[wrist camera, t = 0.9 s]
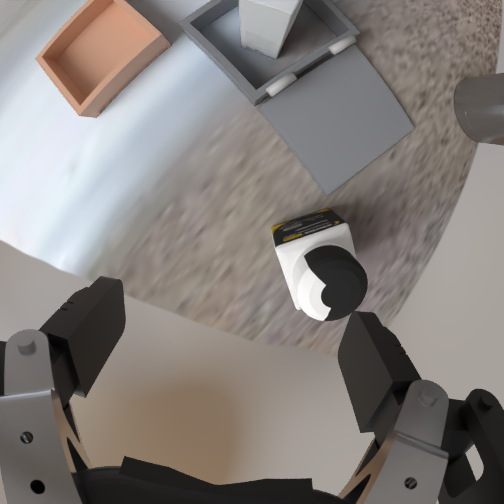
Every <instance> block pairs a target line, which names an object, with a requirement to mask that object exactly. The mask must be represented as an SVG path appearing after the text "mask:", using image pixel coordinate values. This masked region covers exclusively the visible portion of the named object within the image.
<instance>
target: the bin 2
mask: <svg viewBox="0 0 504 504" xmlns="http://www.w3.org/2000/svg"><path fill="white" fill-rule="evenodd" d="M303 2H304V3H306V4H307V5H308V6H309V7H310V8H311V9H312V10H313V11H314V12H315V13H316V14H317V15H318V16H319V17H320V18H321V19H322V20H323V21H324V22H325V23H326V24H327V25H328V27H329V28H330V29H331V30H332V31H333V32H334V33H335V34H336V35H337V36H338V37H337V38H335V39H333V40H331V41H330V42H328V43H326V44H325V45H323V46H321V47H320V48H318V49H316V50H315V51H313V52H312V53H310V54H308V55H307V56H305V57H304V58H302V59H301V60H299V61H297V62H296V63H294V64H293V65H291V66H290V67H288V68H287V69H285V70H284V71H283V72H281V73H280V74H278V75H277V76H275V77H274V78H272V79H271V80H270V81H268V82H267V83H265V84H264V85H263V86H261V87H260V88H259V89H257V90H256V89H255V88H254V87H253V86H252V85H251V84H250V83H249V82H248V81H247V80H246V78H245V77H244V76H243V75H242V74H241V73H240V72H239V71H238V70H237V69H236V68H235V67H234V66H233V65H232V64H231V63H230V62H229V61H228V60H227V59H226V58H225V57H224V56H223V54H222V53H221V52H220V51H219V50H217V49H216V48H215V47H214V46H213V45H212V44H211V43H210V42H209V41H208V40H207V39H206V38H205V37H204V36H203V35H202V34H201V33H200V32H199V31H200V30H202V29H203V28H205V27H206V26H207V25H209V24H210V23H212V22H213V21H215V20H216V19H218V18H219V17H221V16H222V15H224V14H225V13H227V12H228V11H230V10H231V9H233V8H235V7H236V6H238V5H239V0H211V1H210V2H208V3H207V4H205V5H204V6H202V7H201V8H199V9H198V10H196V11H195V12H194V13H192V14H191V15H189V16H188V17H187V18H185V19H184V20H182V21H181V22H180V23H179V25H180V26H181V28H182V30H183V31H184V33H185V35H187V36H188V37H189V38H190V39H191V40H192V41H193V42H194V43H195V44H196V45H197V46H198V47H199V48H200V49H201V50H202V51H203V52H204V53H205V54H206V55H207V56H208V57H209V58H210V59H211V60H212V61H213V62H214V63H215V64H216V65H217V66H218V67H219V68H220V69H221V70H222V71H223V72H224V73H225V74H226V75H227V77H228V78H229V79H230V80H231V81H232V82H233V83H234V84H235V85H236V86H237V87H238V88H239V89H240V91H241V92H242V93H243V94H244V95H245V96H246V97H247V98H248V99H249V101H250V102H251V103H252V104H253V105H254V106H255V105H257V104H258V103H259V102H261V101H262V100H263V99H265V98H266V97H267V96H269V95H270V96H271V97H273V96H274V95H276V94H277V93H278V92H280V91H281V90H283V89H284V88H285V87H287V86H288V85H290V84H291V83H293V82H294V81H295V82H294V83H293V84H291V85H290V86H288V87H287V88H285V89H284V90H283V91H281V92H280V93H278V94H277V95H276V96H274V97H273V98H272V99H270V100H269V101H267V102H266V103H265V104H263V105H262V106H261V107H259V108H258V111H259V112H260V113H261V114H262V115H263V117H264V118H265V119H266V120H267V121H268V122H269V124H270V125H271V126H272V127H273V128H274V129H275V131H276V132H277V133H278V134H279V136H280V137H281V138H282V139H283V140H284V142H285V143H286V144H287V145H288V147H289V148H290V149H291V150H292V152H293V153H294V154H295V155H296V157H297V158H298V159H299V160H300V162H301V163H302V164H303V166H304V167H305V168H306V169H307V171H308V172H309V173H310V175H311V176H312V177H313V179H314V180H315V181H316V183H317V184H318V185H319V187H320V188H321V189H322V191H323V192H324V194H325V195H326V196H328V195H329V194H330V193H332V192H333V191H334V190H336V189H337V188H338V187H339V186H341V185H342V184H343V183H345V182H346V181H347V180H348V179H350V178H351V177H352V176H354V175H355V174H356V173H358V172H359V171H360V170H361V169H363V168H364V167H365V166H367V165H368V164H369V163H370V162H372V161H373V160H374V159H376V158H377V157H378V156H380V155H381V154H382V153H383V152H385V151H386V150H387V149H389V148H390V147H391V146H392V145H394V144H395V143H396V142H398V141H399V140H400V139H401V138H403V137H404V136H405V135H407V134H408V133H409V132H411V131H412V130H413V129H414V126H413V125H412V123H411V121H410V120H409V118H408V116H407V115H406V113H405V112H404V110H403V109H402V107H401V106H400V104H399V102H398V101H397V99H396V98H395V96H394V95H393V94H392V92H391V91H390V89H389V88H388V86H387V85H386V84H385V82H384V81H383V79H382V78H381V77H380V75H379V74H378V73H377V71H376V70H375V69H374V67H373V66H372V65H371V64H370V62H369V61H368V60H367V58H366V57H365V56H364V55H363V54H362V52H361V51H360V50H359V49H358V47H357V46H356V45H355V44H354V43H356V39H355V37H356V36H357V35H358V34H359V33H360V32H359V31H358V29H357V28H356V27H355V26H354V25H353V24H352V23H351V22H350V21H349V19H348V18H347V17H346V16H345V15H344V14H343V13H342V12H341V11H340V10H339V9H338V8H337V7H336V6H335V5H334V4H333V3H332V2H331V1H330V0H303ZM352 44H354V45H352ZM350 45H352V46H350ZM349 46H350V47H349ZM347 47H349V48H347ZM345 48H347V49H345ZM344 49H345V50H344ZM342 50H343V51H342ZM340 51H342V52H340ZM339 52H340V53H339ZM331 53H332V54H333V55H335V54H337V53H339V54H337V55H335V56H334V57H332V58H330V59H329V60H327V61H326V62H324V63H323V64H321V65H319V66H318V67H316V68H315V69H313V70H312V71H310V72H309V73H307V74H306V75H304V76H303V77H301V78H300V79H298V80H297V78H296V76H297V75H299V74H300V73H302V72H303V71H305V70H306V69H308V68H309V67H311V66H312V65H314V64H315V63H317V62H318V61H320V60H322V59H323V58H325V57H326V56H328V55H330V54H331ZM296 80H297V81H296Z"/></svg>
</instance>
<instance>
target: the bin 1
mask: <svg viewBox="0 0 504 504" xmlns="http://www.w3.org/2000/svg"><path fill="white" fill-rule="evenodd" d="M170 46H171V44H170V43H169V42H168V41H167V39H166V38H165V37H164V36H163V35H162V34H161V33H160V32H159V31H158V30H157V29H156V28H155V27H154V26H153V25H152V24H151V23H150V22H148V21H147V20H146V19H145V18H144V17H143V16H142V15H141V14H140V13H138V12H137V11H136V10H135V9H134V8H133V7H132V6H130V5H129V4H128V3H127V2H126V1H125V0H88V1H87V2H86V3H85V4H84V5H83V6H82V7H81V8H80V9H79V10H78V11H77V12H76V13H75V14H74V15H73V16H72V17H71V18H70V19H69V20H68V21H67V22H66V23H65V24H64V25H63V26H62V28H61V29H60V30H59V31H58V32H57V33H56V34H55V35H54V37H53V38H52V39H51V40H50V41H49V42H48V44H47V45H46V46H45V47H44V48H43V50H42V51H41V52H40V53H39V55H38V56H37V57H36V58H35V59H36V60H37V62H38V63H39V65H40V66H41V67H42V69H43V70H44V71H45V73H46V74H47V75H48V77H49V78H50V79H51V80H52V82H53V83H54V84H55V86H56V87H57V88H58V90H59V91H60V92H61V94H62V95H63V96H64V97H65V99H66V100H67V101H68V102H69V104H70V105H71V106H72V108H73V109H74V110H75V111H76V113H77V114H78V115H79V116H85V117H94V118H97V116H98V115H99V114H100V113H101V112H102V111H103V110H104V109H105V108H106V106H107V105H108V104H109V103H110V102H111V101H112V100H113V99H114V98H115V97H116V96H117V95H118V94H119V93H120V92H121V91H122V90H123V89H124V88H125V87H126V86H127V85H128V84H129V83H130V82H131V81H132V80H133V79H134V78H135V77H136V76H137V75H138V74H139V73H140V72H141V71H142V70H144V69H145V68H146V67H147V66H148V65H149V64H150V63H151V62H152V61H154V60H155V59H156V58H157V57H158V56H159V55H161V54H162V53H163V52H164V51H165V50H167V49H168V48H169V47H170Z"/></svg>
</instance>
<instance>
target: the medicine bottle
mask: <svg viewBox="0 0 504 504" xmlns="http://www.w3.org/2000/svg"><path fill="white" fill-rule="evenodd" d="M271 233H272V237H273V241H274V245H275V249H276V253H277V255H278V258H279V261H280V264H281V267H282V270H283V273H284V275H285V278H286V281H287V284H288V287H289V290H290V293H291V296H292V299H293V301H294V304H295V307H296V309H298V310H300V309H303V311H304V312H305V313H306V314H308V315H309V316H310V317H312V318H314V319H317V320H321V321H333V320H338V319H341V318H343V317H346V316H347V315H349V314H351V313H352V312H353V311H354V310H355V309H357V307H358V306H359V305H360V304H361V302H362V301H363V299H364V297H365V295H366V292H367V285H368V281H367V275H366V273H365V270H364V269H363V267H362V266H361V265H360V264H359V262H358V261H357V258H356V254H355V249H354V245H353V241H352V237H351V233H350V229H349V225H348V224H347V223H346V222H345V221H344V220H343V219H341V218H340V217H339V216H338V215H337V214H335V213H334V212H333V211H332V210H331V209H329V208H326V209H323V210H320V211H317V212H314V213H311V214H309V215H306V216H303V217H300V218H297V219H294V220H291V221H288V222H285V223H282V224H279V225H276V226H273V227H272V228H271Z"/></svg>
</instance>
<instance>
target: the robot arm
mask: <svg viewBox="0 0 504 504" xmlns="http://www.w3.org/2000/svg"><path fill="white" fill-rule="evenodd" d="M454 106H455V112H456V116H457V119H458V121H459V124H460V126H461V127H462V129H463V131H464V132H465V133H466V134H467V136H468V137H470V138H471V139H472V140H474V141H476V142H480V143H489V144H497V145H504V73H500V74H492V75H486V76H479V77H473V78H468V79H464V80H462V81H461V82H460V83H459V84H458V85H457V87H456V90H455V95H454ZM125 321H126V317H125V306H124V293H123V284H122V281H121V280H120V279H114V278H109V277H104V276H100V277H99V278H98V279H97V280H96V281H95V282H94V283H93V284H92V285H91V286H90V287H89V288H88V287H86V288H84V289H81V290H79V291H77V292H75V293H74V294H73V295H72V296H71V297H70V298H69V299H68V300H67V302H65V303H64V304H63V305H62V306H61V307H60V309H58V310H57V311H56V312H55V313H54V314H53V315H52V316H51V318H50V319H48V321H47V322H46V323H45V324H44V325H43V326H42V327H41V328H40V329H39V330H33V329H28V330H23V331H20V332H17V333H16V334H14V335H13V336H11V338H9V340H8V341H7V342H4V341H0V468H1V474H2V480H3V485H4V490H5V494H6V498H7V503H8V504H436V501H437V498H438V501H439V504H504V410H503V409H502V407H501V405H500V403H499V401H498V400H497V399H496V397H495V396H494V395H493V394H491V393H490V392H488V391H486V390H483V389H474V390H473V391H471V392H470V394H469V395H468V397H467V398H466V400H465V401H463V400H455V399H449V398H448V395H447V394H446V392H445V391H444V389H442V387H440V386H439V385H437V384H436V383H434V382H432V381H429V380H422V379H421V377H420V375H419V374H418V372H417V370H416V369H415V367H414V365H413V363H412V362H411V360H410V358H409V357H408V355H406V352H405V350H404V349H403V347H401V344H400V342H399V340H398V339H397V337H396V336H395V335H394V334H393V333H392V332H391V331H390V330H388V329H387V328H386V327H383V325H382V324H381V322H380V321H379V319H378V317H377V316H376V314H375V313H373V312H360V311H354V312H353V313H352V314H351V316H350V318H349V321H348V324H347V327H346V329H345V332H344V335H343V338H342V340H341V343H340V346H339V350H338V362H339V366H340V369H341V372H342V375H343V378H344V381H345V384H346V387H347V390H348V393H349V397H350V400H351V403H352V406H353V410H354V413H355V416H356V420H357V423H358V426H359V430H360V433H365V432H374V434H375V437H374V439H373V440H372V442H371V443H370V445H369V447H368V449H367V451H366V453H365V455H364V456H363V458H362V460H361V462H360V463H359V465H358V467H357V469H356V470H355V472H354V474H353V475H352V477H351V479H350V480H349V482H348V483H347V485H346V486H345V487H344V489H343V490H342V491H341V492H340V493H339V495H338V496H335V495H332V494H330V493H327V492H323V491H320V490H315V489H313V487H312V479H311V478H307V479H262V480H256V481H249V482H242V483H234V484H225V485H214V484H211V483H208V482H205V481H202V480H200V479H197V478H194V477H192V476H189V475H187V474H184V473H182V472H179V471H177V470H174V469H172V468H170V467H166V466H161V465H157V464H153V463H148V462H145V461H141V460H137V459H133V458H129V457H126V456H124V459H123V462H122V465H121V466H104V467H96V468H93V466H92V464H91V462H90V460H89V458H88V456H87V454H86V451H85V449H84V445H83V443H82V439H81V436H80V433H79V430H78V427H77V424H76V420H75V416H74V413H73V409H72V405H71V403H70V398H71V397H72V395H73V394H76V395H79V396H82V397H84V398H86V396H87V394H88V392H89V391H90V389H91V387H92V385H93V384H94V382H95V380H96V378H97V376H98V375H99V373H100V371H101V369H102V368H103V366H104V364H105V363H106V361H107V359H108V357H109V356H110V354H111V352H112V351H113V349H114V347H115V345H116V344H117V342H118V341H119V339H120V337H121V336H122V333H123V332H124V328H125ZM474 444H475V446H476V448H477V451H478V453H479V455H480V457H481V460H482V462H483V465H484V470H483V474H482V476H481V477H480V479H479V480H477V481H476V479H475V476H474V474H473V471H472V469H471V467H470V464H469V461H468V459H467V456H466V454H465V453H466V452H467V451H468V450H469V449H470V448H471V447H472V446H473V445H474Z"/></svg>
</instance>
